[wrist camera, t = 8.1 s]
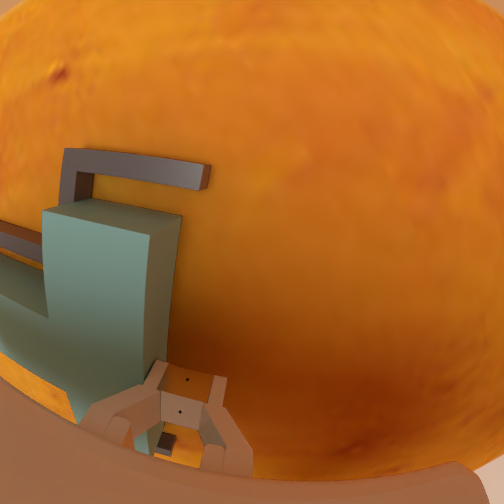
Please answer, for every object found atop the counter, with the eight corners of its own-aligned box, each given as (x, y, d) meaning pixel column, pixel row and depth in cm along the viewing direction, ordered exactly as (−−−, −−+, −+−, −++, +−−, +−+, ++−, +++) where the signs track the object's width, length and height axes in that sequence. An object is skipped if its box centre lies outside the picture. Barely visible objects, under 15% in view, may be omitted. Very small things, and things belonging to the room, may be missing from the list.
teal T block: (182, 216, 10) (149, 235, 7) (164, 425, 13) (150, 464, 10) (-16, 179, 9) (-54, 187, 7) (6, 350, 13) (-17, 371, 10)
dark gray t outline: (211, 165, 9) (204, 164, 8) (175, 442, 14) (170, 456, 12) (-27, 146, 9) (-41, 147, 8) (-4, 356, 13) (-12, 363, 12)
